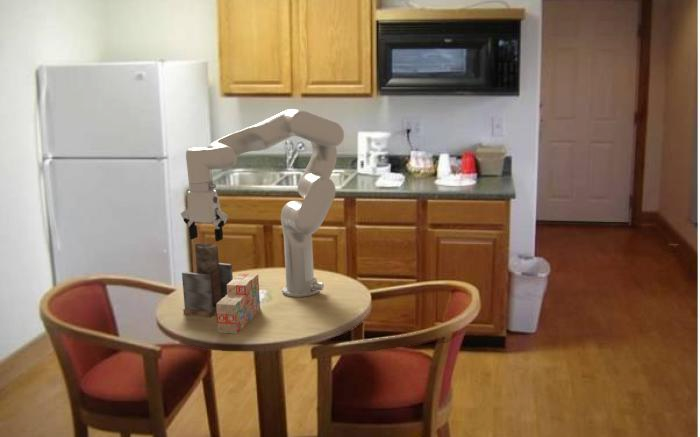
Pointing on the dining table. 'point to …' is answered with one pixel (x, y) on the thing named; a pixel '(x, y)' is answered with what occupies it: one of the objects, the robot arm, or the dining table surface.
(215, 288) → the dark upright piece
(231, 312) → the stack of blocks
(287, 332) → the dining table surface
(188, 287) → the shelf
